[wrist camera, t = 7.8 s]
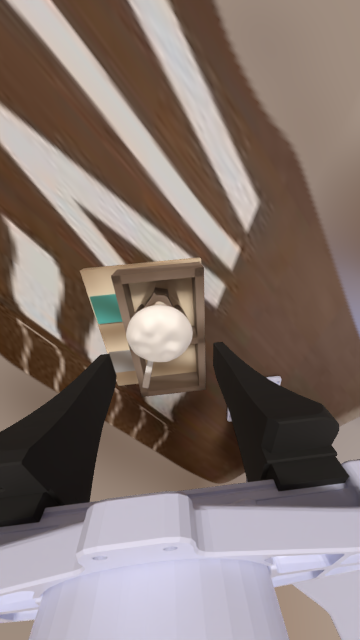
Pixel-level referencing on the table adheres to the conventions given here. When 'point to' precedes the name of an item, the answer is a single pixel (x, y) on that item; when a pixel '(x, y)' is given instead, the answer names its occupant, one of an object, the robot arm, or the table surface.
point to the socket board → (122, 302)
